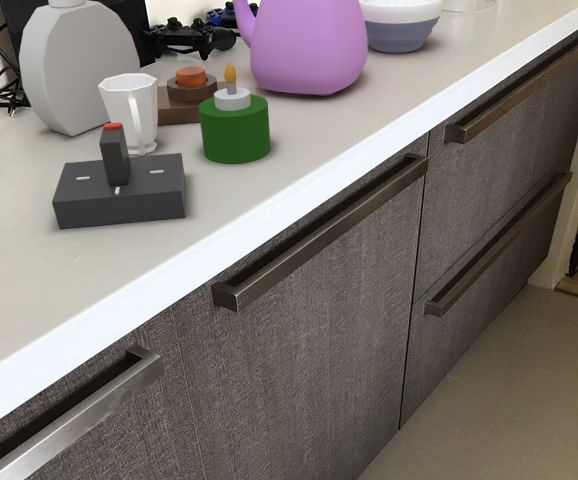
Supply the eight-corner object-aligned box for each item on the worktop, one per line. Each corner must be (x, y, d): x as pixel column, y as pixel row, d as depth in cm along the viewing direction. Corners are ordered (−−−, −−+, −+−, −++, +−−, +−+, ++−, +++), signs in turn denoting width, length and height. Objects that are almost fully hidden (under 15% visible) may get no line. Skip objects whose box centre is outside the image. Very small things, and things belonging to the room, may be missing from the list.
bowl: (344, 56, 111) (345, 5, 106) (364, 34, 122) (366, -14, 117) (431, 60, 108) (436, 8, 103) (444, 37, 118) (449, -12, 113)
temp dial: (128, 184, 69) (118, 139, 66) (108, 186, 69) (98, 140, 66) (131, 165, 73) (122, 121, 70) (112, 166, 73) (102, 123, 69)
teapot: (385, 64, 107) (391, -46, 97) (343, 107, 93) (344, -17, 83) (257, 55, 114) (250, -49, 104) (200, 93, 100) (185, -22, 90)
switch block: (151, 126, 90) (146, 95, 88) (154, 102, 98) (149, 73, 95) (239, 119, 91) (237, 88, 88) (235, 95, 98) (232, 67, 96)
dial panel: (59, 229, 69) (51, 200, 66) (71, 188, 76) (64, 161, 74) (185, 217, 69) (180, 188, 67) (185, 178, 77) (181, 151, 75)
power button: (177, 89, 90) (175, 75, 89) (177, 80, 93) (175, 67, 92) (206, 87, 91) (205, 73, 89) (206, 78, 94) (204, 65, 92)
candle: (203, 165, 79) (191, 77, 73) (205, 139, 86) (194, 56, 79) (272, 161, 80) (266, 72, 73) (268, 135, 86) (263, 52, 79)
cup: (164, 134, 88) (153, 69, 82) (174, 163, 80) (163, 93, 75) (110, 142, 86) (96, 76, 81) (116, 171, 79) (100, 102, 74)
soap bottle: (60, 143, 87) (12, -35, 74) (35, 135, 89) (-15, -38, 76) (150, 107, 96) (121, -57, 83) (126, 101, 99) (94, -59, 85)
